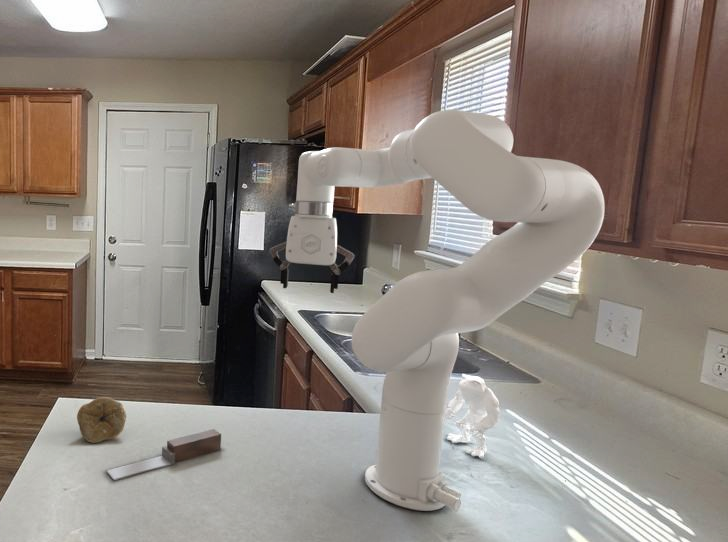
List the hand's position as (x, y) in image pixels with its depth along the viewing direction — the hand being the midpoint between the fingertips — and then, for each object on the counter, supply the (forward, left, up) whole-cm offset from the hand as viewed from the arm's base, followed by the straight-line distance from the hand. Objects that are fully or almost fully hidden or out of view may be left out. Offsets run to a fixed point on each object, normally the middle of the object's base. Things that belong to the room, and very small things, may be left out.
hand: (308, 289), depth 107 cm
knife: (-1, +35, -30) cm, 46 cm away
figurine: (-24, -23, -30) cm, 45 cm away
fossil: (+14, +42, -30) cm, 53 cm away
